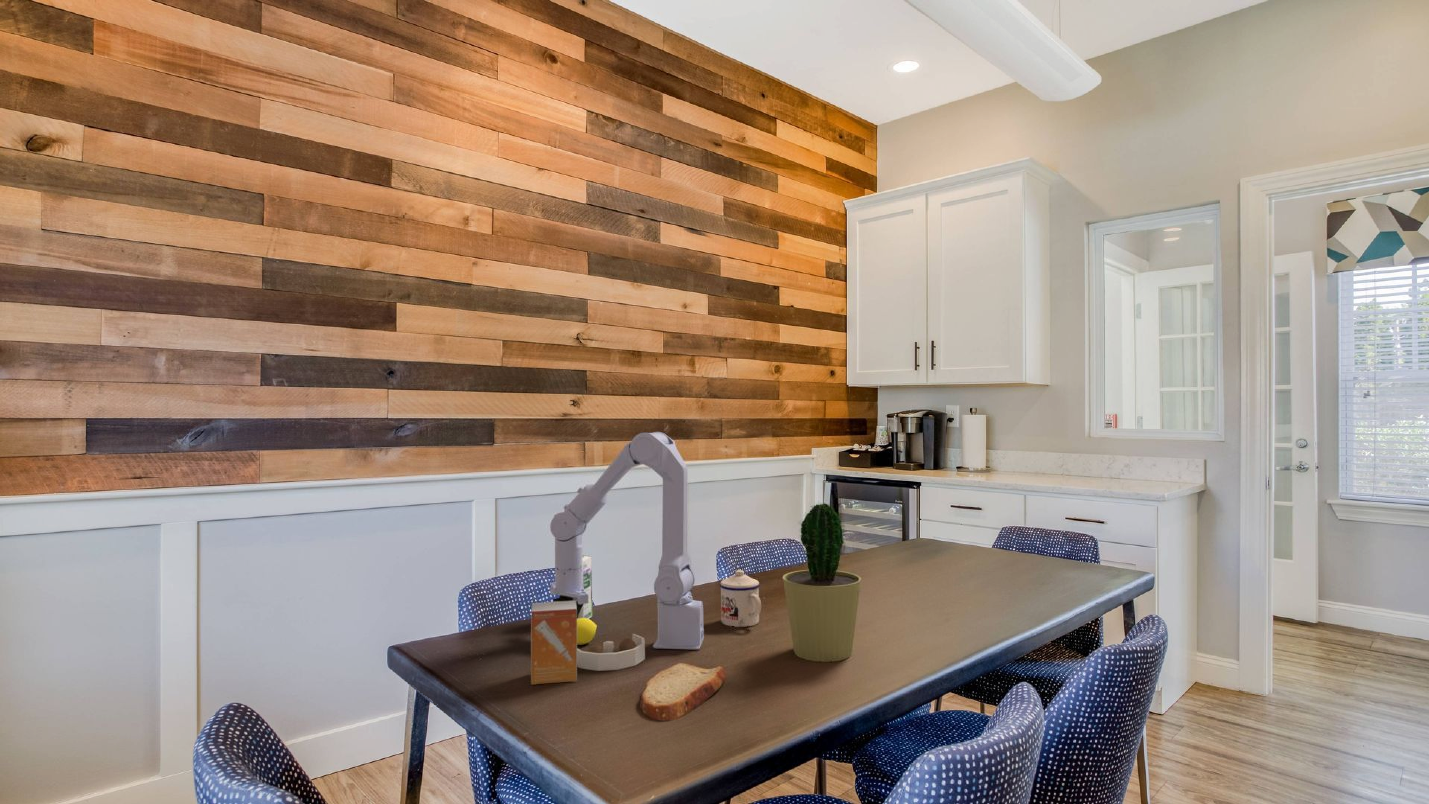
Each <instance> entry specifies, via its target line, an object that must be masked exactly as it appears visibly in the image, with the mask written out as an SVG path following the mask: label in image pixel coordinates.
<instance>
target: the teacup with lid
mask: <svg viewBox="0 0 1429 804" xmlns="http://www.w3.org/2000/svg"><path fill="white" fill-rule="evenodd" d="M760 586H761V585H760V582H759V581H758V580H757V579H754V578H752V577H750V576H749V575H746V574H745V571H744V570H743V569H742V570H741V569H739V570H736V571H735V573H734V574H733V575H731V576H729V577H728V578H725V579H722V580H721V581H720V583H719V587H720V616H721V617H720V621H721V623H722V624H723V625H724V626H728V627H732V626H734V627H733V628H747V626H748V627H752V626H756V625H757V624H758V623H759V621H760V614H761V610H762V602H761V597H759V596H760V595H759V593H760V591H759V590H760V589H759V587H760Z"/></svg>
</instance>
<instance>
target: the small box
mask: <svg viewBox="0 0 1429 804" xmlns="http://www.w3.org/2000/svg"><path fill="white" fill-rule="evenodd" d="M530 622H531V623H530V684H531V685H532V686H533V685H539V684H541V685H542V684H553V683H567V682H577V680H578V669H577V668H578V667H577V648H578V645H577V606H576V601H575V600H574V601H556V602H553V601H546V602H533V603H531V618H530Z"/></svg>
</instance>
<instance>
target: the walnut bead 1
mask: <svg viewBox="0 0 1429 804" xmlns="http://www.w3.org/2000/svg"><path fill="white" fill-rule="evenodd" d="M586 652H592V653H604V650H603V647H602V646H601V645H597V644H594V645H592V646H590V647H589V648H588V649H587V650H586Z"/></svg>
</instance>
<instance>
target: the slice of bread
mask: <svg viewBox="0 0 1429 804" xmlns="http://www.w3.org/2000/svg"><path fill="white" fill-rule="evenodd" d="M726 678H727V673H726V671H725V669H724V668H723V667H722V665H721V666H717V667H713V668H703V667H699V666H695V665H693V664H689V663H686V662H685V663H684V662H679V663H675V664H674V665H672V666H670V667H668V668H665V669H663V670H661V671H659V672H658V673H657V674H655V675H654V676H653V677H652V678H650V679H649V680H648V681H647V682H646V684H645V685H646V686H645V689H644V691H642V693H641V696H640V698H641V699H640V704H639V706H640V709H641V711H642V712H643V713H644V714H645V715H646V716H648V717H650V718H652V719H655V720H657V719H658V720H657V721H674V720H677V719H680V717H683V716H685V715H687V714H689V713H691V712H692V711H694V710H695V709H697V708H698V707H699V706H700V705H702V704H703V703H704V702H705V701H707V700H709V698H710V697H712V696H713V695H714V694H715V693H716V692H718V691H719V689H720V688H721V687H722V686H723V683H724V682H725V680H726Z"/></svg>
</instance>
